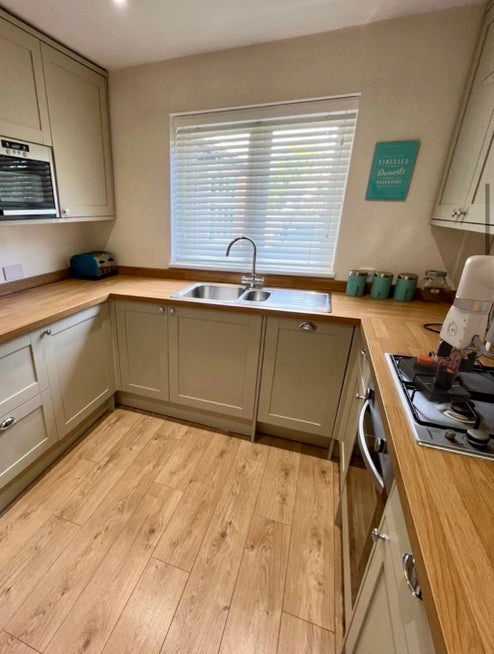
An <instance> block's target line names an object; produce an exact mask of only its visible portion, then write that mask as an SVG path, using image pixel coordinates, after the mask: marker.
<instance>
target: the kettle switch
mask: <svg viewBox="0 0 494 654" xmlns="http://www.w3.org/2000/svg"><path fill="white" fill-rule="evenodd" d="M417 357H418V359H417V362H419V363H421V364H425V365H432V363H433V361H434V358H433V357H432V356H429V355H425V354H420V355H418V356H417Z"/></svg>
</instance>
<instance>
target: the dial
mask: <svg viewBox="0 0 494 654" xmlns="http://www.w3.org/2000/svg"><path fill="white" fill-rule="evenodd" d="M456 375H457V370H455V369H453V368H451V367H447V366H439V367H438V370H437V372H436V375H435V378H434V381H433V383H434V384H435V385H436V386H438V387H441V388H445V389H450V388H452V386H453V383H454V381H455V380H456V378H457V377H456Z"/></svg>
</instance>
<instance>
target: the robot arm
mask: <svg viewBox="0 0 494 654" xmlns="http://www.w3.org/2000/svg"><path fill="white" fill-rule="evenodd" d="M493 303H494V255H484V254H481V255H479V254H478V255H476V254H475V255H472V256H469V257H468V258H467V259H466V260H465V264H464V267H463V270H462V274H461V277H460V279H459V284H458V287H457V290H456V293H455V297H454V300H453V303H452V305H451V307H450V308H449V310H448V312H447V314H446V316H445V319H444V321H443V324H442V325H441V326H440V332H439V339H440V337H441V339H440V345H439V349H438V352H437V356H438V357H450V354H451V351H452V347H455V348H457V349H462V352H463V357H464V358H463V357H461V359H460V362H459V365H458V368H457V371H458V372H460V373H469V374H470V373H472V371H473V369H474V366H475V363H476V361H477V360H479V358H481V357H482V356H483V354H484V353H485V352H486V351H487V347H486V346H485V344H484V342H483V341H484V338H485V334H486V330H487V327H488V321H489V314H490V311H491V309H492V305H493ZM467 346H468V347H467ZM468 350H471V351H470V353H469V354H468Z"/></svg>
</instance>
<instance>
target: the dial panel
mask: <svg viewBox="0 0 494 654" xmlns="http://www.w3.org/2000/svg"><path fill="white" fill-rule="evenodd" d="M434 378H435V377H423V376H416V377H415V380H414V382H412V383H413V384H412V385H413V386H414V387H415V388H416V389H417V390H418V391H419V392H420V394H421V395H423V397H424V398H425V399H426V400H427V401H428V402H430V401H431V402H437V403H448V404H449V403H450V404H452V403H451V397H459V398H464V399H466V400H468V403H469V402H470V400H471V397H472V394H471V393H470V392H468V391H467V390H466V388H464V387H462V386H461V385H460V384H459V383H458V382H456V381H455V380H454V383H453V386H452V388H450V389H445V388H441V387H438V386H436V385H435V384H434V383H433V381H434Z"/></svg>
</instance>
